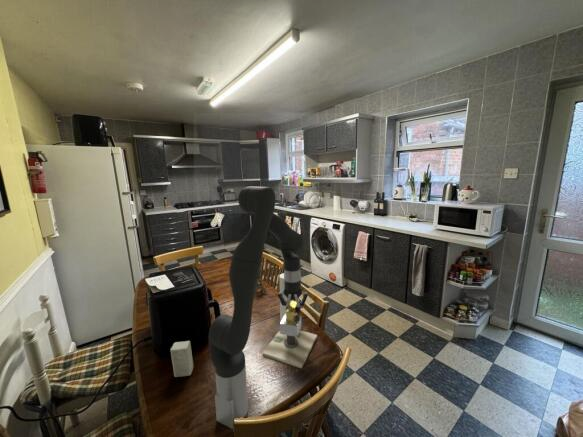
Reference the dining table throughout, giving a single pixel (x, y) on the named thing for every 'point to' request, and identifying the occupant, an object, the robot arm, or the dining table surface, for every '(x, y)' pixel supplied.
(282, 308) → the tall white block
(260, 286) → the eiffel tower
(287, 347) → the post base
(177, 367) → the skincare box
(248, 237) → the robot arm
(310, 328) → the dining table surface
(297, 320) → the coupling
